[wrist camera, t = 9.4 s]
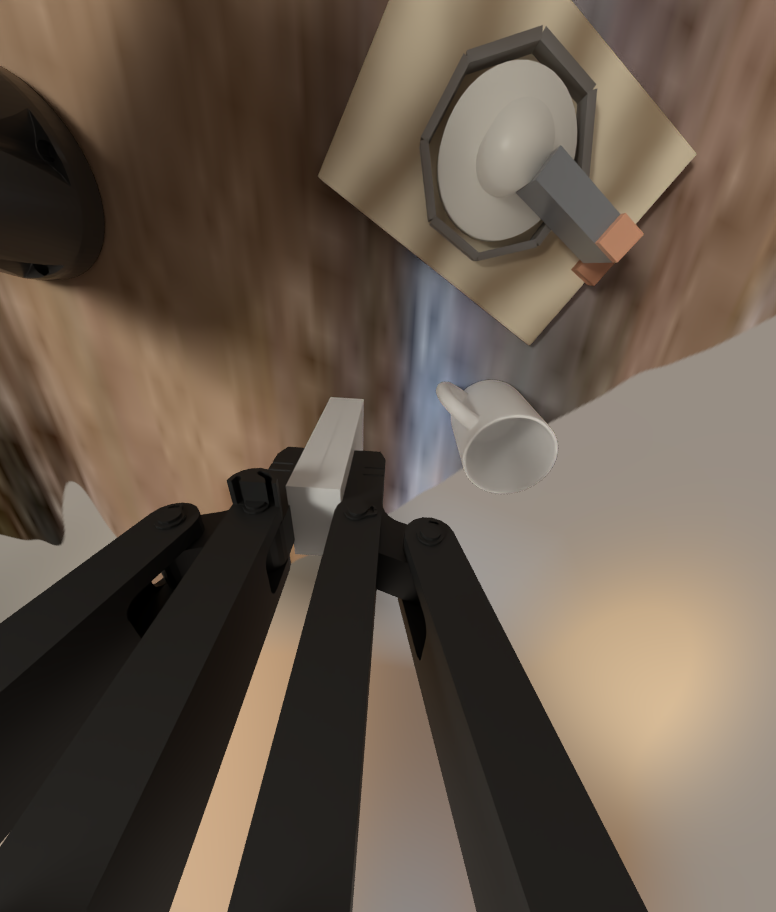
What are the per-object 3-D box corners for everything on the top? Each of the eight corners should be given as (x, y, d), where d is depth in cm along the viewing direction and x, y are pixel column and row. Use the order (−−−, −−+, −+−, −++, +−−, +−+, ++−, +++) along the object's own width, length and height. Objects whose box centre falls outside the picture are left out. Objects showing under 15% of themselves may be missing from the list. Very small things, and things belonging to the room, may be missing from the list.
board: (321, 179, 27) (312, 171, 25) (447, -127, 19) (453, -183, 17) (528, 345, 33) (537, 351, 31) (687, 162, 25) (717, 151, 23)
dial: (411, 186, 26) (413, 162, 20) (501, 29, 22) (537, -61, 16) (537, 303, 30) (569, 312, 24) (635, 192, 25) (704, 169, 20)
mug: (410, 398, 37) (412, 440, 28) (461, 340, 33) (481, 366, 24) (484, 454, 40) (506, 508, 31) (537, 407, 36) (578, 451, 28)
